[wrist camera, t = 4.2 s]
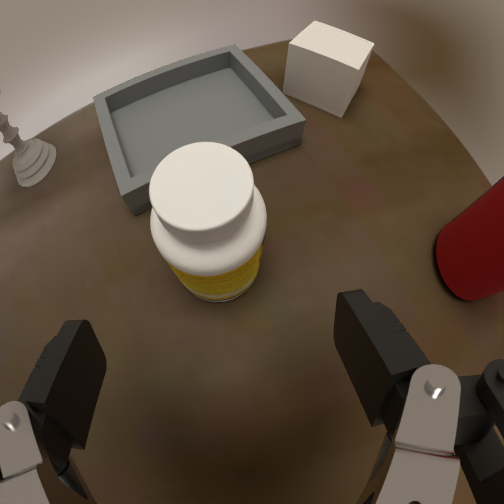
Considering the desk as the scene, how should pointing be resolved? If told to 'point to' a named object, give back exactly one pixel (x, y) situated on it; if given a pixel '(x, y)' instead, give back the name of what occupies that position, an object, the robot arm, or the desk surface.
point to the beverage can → (475, 247)
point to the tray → (193, 116)
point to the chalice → (28, 155)
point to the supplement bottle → (208, 219)
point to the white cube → (326, 67)
